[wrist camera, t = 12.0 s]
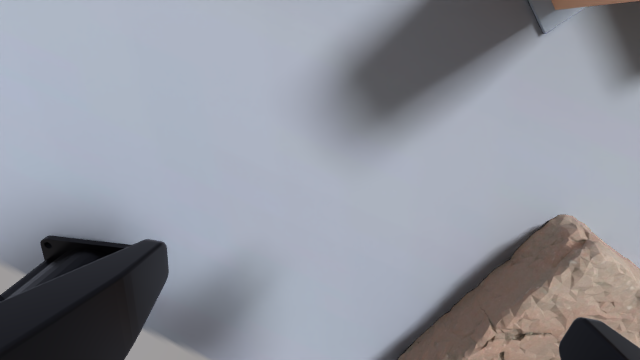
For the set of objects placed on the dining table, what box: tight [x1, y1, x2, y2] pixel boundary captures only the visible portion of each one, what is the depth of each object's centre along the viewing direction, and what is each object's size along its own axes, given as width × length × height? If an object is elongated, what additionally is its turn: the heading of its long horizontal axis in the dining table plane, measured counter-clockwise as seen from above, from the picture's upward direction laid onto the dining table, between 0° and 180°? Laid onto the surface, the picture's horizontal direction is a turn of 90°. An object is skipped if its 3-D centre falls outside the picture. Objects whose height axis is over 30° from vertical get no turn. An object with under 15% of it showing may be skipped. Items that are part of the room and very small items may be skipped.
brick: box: [398, 215, 640, 360], centre depth 22 cm, size 17×8×5 cm, turn 146°
